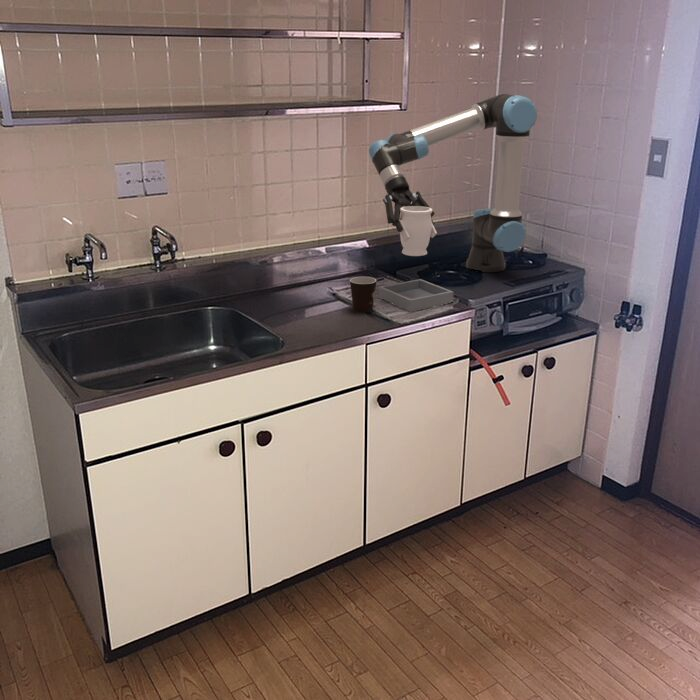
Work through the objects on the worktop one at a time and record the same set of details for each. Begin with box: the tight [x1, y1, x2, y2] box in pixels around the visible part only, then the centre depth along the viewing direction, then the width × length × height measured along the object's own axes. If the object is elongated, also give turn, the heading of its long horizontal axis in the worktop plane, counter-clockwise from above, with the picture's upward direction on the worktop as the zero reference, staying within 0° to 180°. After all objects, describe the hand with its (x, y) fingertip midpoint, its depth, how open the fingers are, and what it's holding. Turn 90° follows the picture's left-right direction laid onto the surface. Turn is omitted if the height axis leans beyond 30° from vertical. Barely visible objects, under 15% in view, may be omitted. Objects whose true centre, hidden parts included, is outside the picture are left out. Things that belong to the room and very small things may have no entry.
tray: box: [378, 278, 454, 313], centre depth 260 cm, size 18×18×4 cm
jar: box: [399, 206, 434, 257], centre depth 253 cm, size 11×10×15 cm
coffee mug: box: [349, 276, 377, 314], centre depth 250 cm, size 12×9×10 cm
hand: (420, 237), depth 251 cm, fingers closed on jar, 10 cm apart
